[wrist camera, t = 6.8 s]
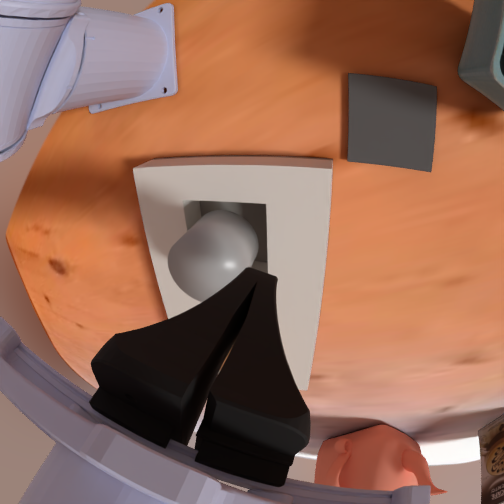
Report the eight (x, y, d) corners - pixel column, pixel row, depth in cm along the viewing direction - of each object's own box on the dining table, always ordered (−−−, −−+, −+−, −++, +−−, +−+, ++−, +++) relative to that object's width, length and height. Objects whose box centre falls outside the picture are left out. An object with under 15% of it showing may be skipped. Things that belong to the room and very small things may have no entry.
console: (194, 346, 33) (183, 364, 31) (154, 158, 22) (132, 168, 20) (311, 368, 29) (307, 390, 27) (332, 158, 18) (331, 169, 16)
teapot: (462, 431, 30) (464, 502, 19) (370, 462, 41) (361, 523, 30) (418, 391, 27) (419, 495, 16) (304, 431, 38) (284, 508, 27)
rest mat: (347, 160, 18) (347, 161, 18) (348, 73, 15) (348, 73, 15) (429, 170, 16) (431, 172, 16) (434, 86, 13) (436, 86, 13)
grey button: (199, 266, 22) (175, 297, 19) (190, 208, 20) (160, 233, 17) (259, 273, 21) (243, 309, 18) (257, 212, 19) (237, 240, 15)
